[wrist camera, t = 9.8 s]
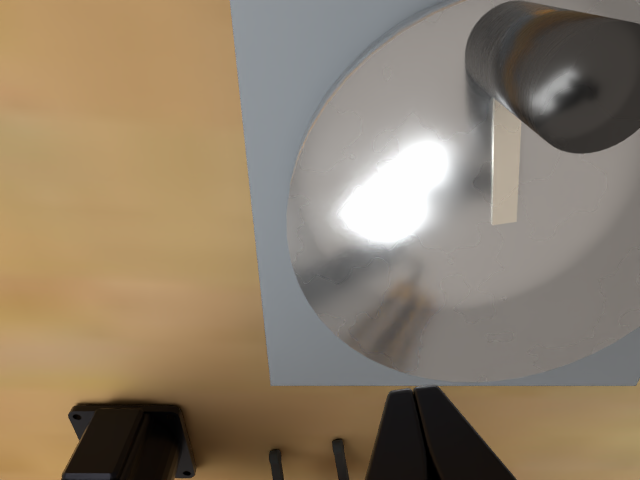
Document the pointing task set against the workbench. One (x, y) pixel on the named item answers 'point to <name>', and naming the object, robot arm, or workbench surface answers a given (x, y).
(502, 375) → the dial
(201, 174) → the workbench surface
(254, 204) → the stand plate
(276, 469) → the robot dog
